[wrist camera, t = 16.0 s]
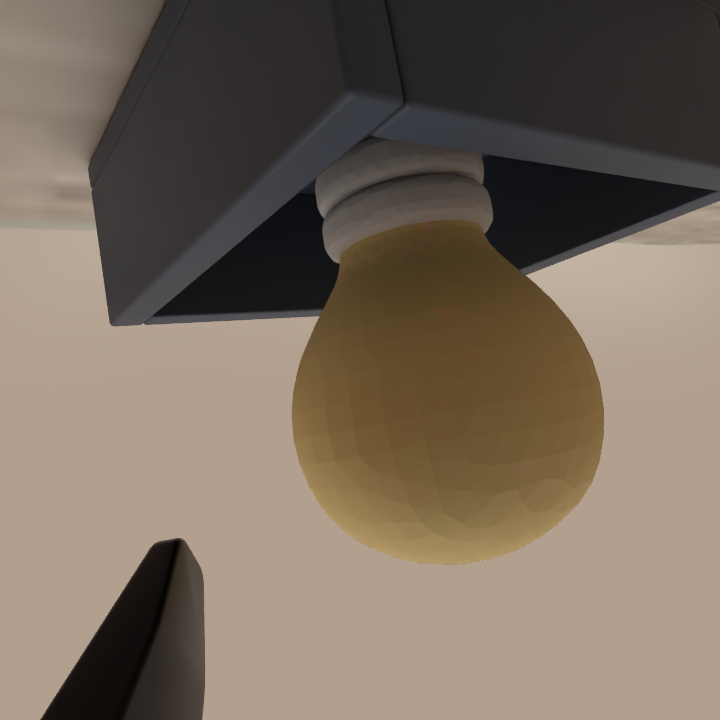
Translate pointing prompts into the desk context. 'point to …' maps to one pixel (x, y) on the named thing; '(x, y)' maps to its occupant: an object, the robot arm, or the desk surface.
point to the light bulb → (437, 369)
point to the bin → (392, 135)
